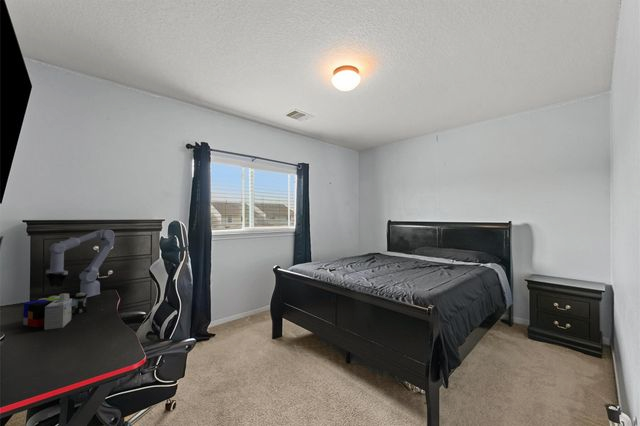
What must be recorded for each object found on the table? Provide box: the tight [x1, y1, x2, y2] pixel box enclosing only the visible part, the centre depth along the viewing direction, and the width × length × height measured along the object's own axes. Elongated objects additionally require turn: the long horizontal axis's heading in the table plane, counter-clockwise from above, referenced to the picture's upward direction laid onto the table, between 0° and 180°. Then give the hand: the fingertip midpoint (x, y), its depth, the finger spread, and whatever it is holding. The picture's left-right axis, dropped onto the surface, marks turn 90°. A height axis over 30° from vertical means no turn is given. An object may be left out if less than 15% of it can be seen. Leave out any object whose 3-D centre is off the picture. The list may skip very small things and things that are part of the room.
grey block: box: [58, 292, 70, 299], centre depth 160 cm, size 3×4×4 cm, turn 77°
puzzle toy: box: [22, 297, 62, 328], centre depth 130 cm, size 10×10×10 cm
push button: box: [71, 292, 87, 314], centre depth 144 cm, size 7×5×10 cm
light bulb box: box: [43, 298, 73, 331], centre depth 127 cm, size 11×7×11 cm, turn 27°
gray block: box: [48, 295, 60, 299], centre depth 155 cm, size 3×4×4 cm, turn 77°
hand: (56, 286), depth 161 cm, fingers open, 4 cm apart
